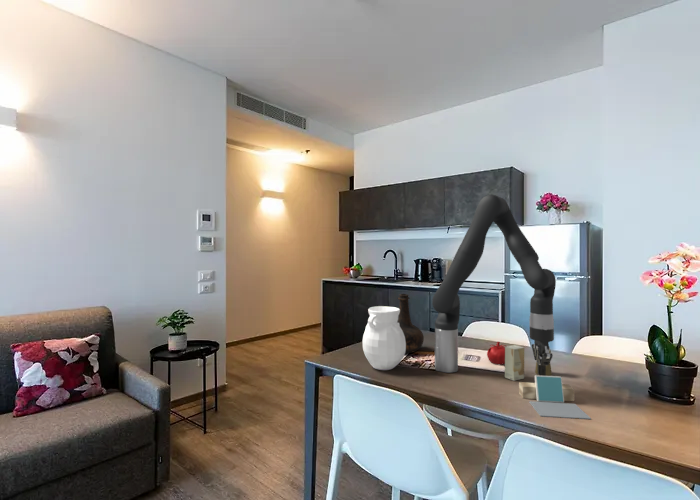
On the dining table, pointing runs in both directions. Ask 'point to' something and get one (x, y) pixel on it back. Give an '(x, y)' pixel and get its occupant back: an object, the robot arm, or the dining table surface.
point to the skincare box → (514, 362)
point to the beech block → (530, 391)
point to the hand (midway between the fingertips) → (541, 375)
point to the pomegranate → (497, 354)
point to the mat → (559, 410)
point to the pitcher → (384, 338)
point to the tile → (549, 388)
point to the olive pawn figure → (548, 369)
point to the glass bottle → (409, 326)
